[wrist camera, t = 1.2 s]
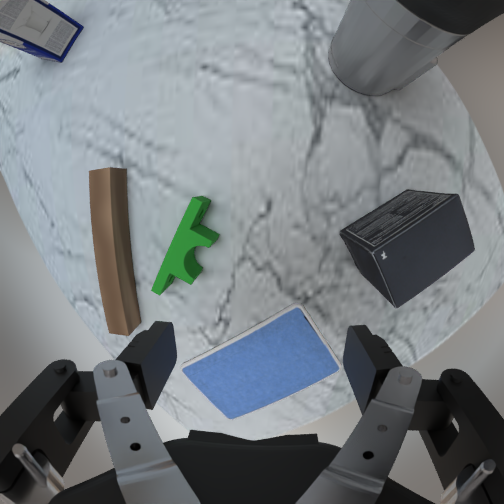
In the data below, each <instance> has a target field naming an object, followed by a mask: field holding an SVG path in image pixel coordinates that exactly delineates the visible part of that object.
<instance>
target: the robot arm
mask: <svg viewBox="0 0 504 504" xmlns="http://www.w3.org/2000/svg"><path fill="white" fill-rule="evenodd" d="M503 13H504V0H351V1H350V3H349V5H348V7H347V10H346V12H345V14H344V16H343V18H342V21H341V23H340V25H339V27H338V30H337V32H336V34H335V36H334V38H333V40H332V43H331V46H330V49H329V57H328V58H329V62H330V66H331V68H332V70H333V72H334V73H335V74H336V76H337V77H338V78H339V79H340V80H341V81H342V82H343V83H344V84H345V85H347V86H348V87H349V88H351V89H353V90H355V91H357V92H359V93H362V94H365V95H372V96H375V95H382V94H385V93H387V92H389V91H391V90H392V89H398V90H401V89H402V88H403V87H405V86H406V85H408V84H409V83H411V82H412V81H414V80H415V79H416V78H418V77H419V76H421V75H422V74H424V73H425V72H427V71H428V70H430V69H431V68H433V67H434V66H436V65H437V63H438V60H437V56H439V55H440V54H441V53H443V52H444V51H445V50H447V49H449V48H450V47H451V46H452V45H454V44H455V43H457V42H458V41H460V40H461V39H463V38H464V37H466V36H467V35H469V34H470V33H472V32H474V31H475V30H477V29H478V28H480V27H481V26H483V25H484V24H486V23H488V22H489V21H491V20H493V19H494V18H496V17H498V16H499V15H501V14H503ZM176 360H177V350H176V342H175V335H174V327H173V324H172V322H163V321H155V322H154V323H153V325H152V326H151V327H150V328H149V330H144V331H142V332H141V333H139V334H137V335H136V336H135V337H134V338H133V340H132V342H130V343H129V344H128V347H126V348H125V349H124V350H123V351H122V353H121V354H120V355H119V356H118V357H117V359H116V360H107V361H104V362H101V363H99V364H98V365H96V367H95V368H94V370H93V371H84V372H83V371H77V368H76V365H75V363H74V362H73V361H70V360H58V361H54V362H52V363H51V364H49V365H48V366H47V367H46V368H45V369H44V370H43V371H42V373H40V374H39V375H38V376H37V377H36V378H35V379H34V380H33V381H32V383H31V384H30V385H29V386H28V387H27V388H26V389H25V390H24V391H23V392H22V393H21V394H20V395H19V396H18V397H17V398H16V399H15V400H14V401H13V403H12V404H11V405H10V406H9V407H8V408H7V409H6V410H5V411H4V412H3V413H2V414H1V416H0V499H1V501H3V502H4V503H5V504H435V503H433V502H431V501H429V500H427V499H425V498H423V497H421V496H420V495H418V494H416V493H414V492H413V491H411V490H409V489H407V488H405V487H404V486H402V485H400V484H399V483H397V482H395V481H393V480H392V479H390V478H389V477H388V475H389V473H390V471H391V468H392V466H393V464H394V462H395V460H396V457H397V455H398V453H399V450H400V448H401V445H402V443H403V441H404V438H405V436H406V433H407V430H419V432H420V435H421V437H422V439H423V441H424V443H425V445H426V448H427V450H428V452H429V455H430V457H431V459H432V462H433V464H434V466H435V469H436V471H437V473H438V476H439V478H440V481H441V483H442V486H443V488H444V492H443V493H442V495H441V498H440V504H504V419H503V418H502V416H501V415H500V414H499V412H498V411H497V410H496V409H495V407H494V406H493V405H492V403H491V402H490V401H489V400H488V398H487V397H486V396H485V394H484V393H483V392H482V391H481V390H480V388H479V387H478V386H477V385H476V383H475V382H473V380H472V379H471V377H470V376H469V375H468V374H467V373H466V372H464V371H462V370H459V369H447V370H445V371H443V372H442V374H441V376H440V379H439V380H425V379H422V376H421V374H420V373H419V372H418V371H417V370H415V369H413V368H410V367H405V366H402V364H401V363H400V361H399V360H398V359H397V357H396V356H395V354H394V353H393V352H392V350H391V349H390V347H389V346H388V344H387V343H386V342H385V340H384V339H382V338H381V337H379V336H377V335H372V333H371V332H370V330H369V329H368V327H367V326H366V325H355V326H349V328H348V331H347V337H346V343H345V349H344V355H343V365H344V369H345V372H346V374H347V377H348V379H349V382H350V384H351V387H352V389H353V392H354V395H355V397H356V400H357V402H358V405H359V407H360V410H361V413H362V417H361V419H360V421H359V422H358V424H357V425H356V427H355V429H354V430H353V432H352V433H351V435H350V436H349V438H348V439H347V441H346V443H345V444H344V445H343V447H342V448H340V447H338V446H334V445H331V444H327V443H321V442H318V437H317V434H302V435H284V436H279V437H273V438H268V439H262V440H255V441H252V440H247V439H242V438H238V437H234V436H230V435H227V434H223V433H216V432H206V431H197V430H190V433H189V436H188V438H181V439H176V440H171V441H167V442H164V443H163V442H162V440H161V438H160V436H159V434H158V432H157V430H156V429H155V426H154V424H153V422H152V420H151V418H150V416H149V414H148V412H147V410H146V409H151V410H153V408H154V406H155V404H156V402H157V400H158V398H159V396H160V394H161V392H162V390H163V388H164V386H165V384H166V382H167V380H168V378H169V376H170V374H171V372H172V370H173V368H174V366H175V364H176ZM60 404H61V406H62V409H63V411H62V412H61V414H60V415H59V417H58V418H57V419H56V420H55V422H54V421H53V416H54V412H55V411H56V409H57V408H58V407H59V405H60ZM453 418H455V420H456V421H457V423H458V425H459V433H458V431H457V430H456V428H455V426H454V424H453V423H452V420H453ZM95 421H101V424H102V427H103V431H104V435H105V438H106V442H107V446H108V449H109V452H110V455H111V459H112V462H113V465H114V468H113V469H111V470H109V471H107V472H105V473H103V474H100V475H98V476H96V477H94V478H91V479H89V480H87V481H84V482H82V483H80V484H77V485H75V486H73V487H70V488H67V489H65V490H64V481H63V478H62V477H63V475H64V474H65V472H66V470H67V468H68V466H69V465H70V462H71V461H72V459H73V457H74V456H75V454H76V452H77V450H78V449H79V447H80V445H81V444H82V442H83V440H84V439H85V437H86V435H87V433H88V432H89V430H90V428H91V427H92V425H93V423H94V422H95Z"/></svg>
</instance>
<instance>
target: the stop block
mask: <svg viewBox="0 0 504 504" xmlns="http://www.w3.org/2000/svg"><path fill="white" fill-rule="evenodd" d="M89 188H90V209H91V223H92V234H93V244H94V252H95V260H96V267H97V274H98V280H99V286H100V292H101V297H102V302H103V307H104V312H105V317H106V321H107V326H108V330H109V333H111V334H118V335H126V336H129V335H130V334H131V333H132V332H133V331H134V330H135V328H136V327H137V326H138V325H139V324H140V323H141V318H140V312H139V306H138V300H137V293H136V286H135V279H134V271H133V263H132V254H131V244H130V232H129V219H128V201H127V169H122V168H103V169H97V170H91V171H89Z"/></svg>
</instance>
